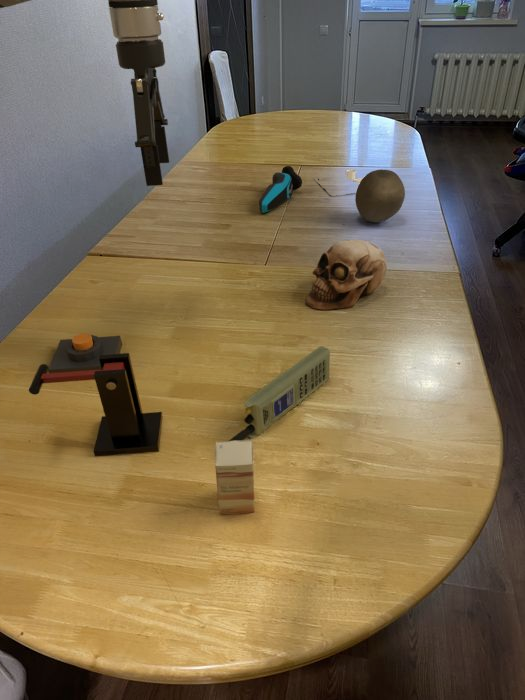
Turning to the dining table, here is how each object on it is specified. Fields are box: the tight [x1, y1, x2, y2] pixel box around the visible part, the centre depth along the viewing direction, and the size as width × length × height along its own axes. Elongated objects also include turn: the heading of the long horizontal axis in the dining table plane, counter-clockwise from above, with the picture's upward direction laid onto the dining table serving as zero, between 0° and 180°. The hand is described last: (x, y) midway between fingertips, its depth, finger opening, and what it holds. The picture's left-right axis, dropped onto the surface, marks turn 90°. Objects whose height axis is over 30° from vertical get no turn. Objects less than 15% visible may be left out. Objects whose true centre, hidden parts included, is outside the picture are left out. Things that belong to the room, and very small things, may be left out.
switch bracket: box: [92, 352, 163, 457], centre depth 80 cm, size 10×8×15 cm
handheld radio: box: [228, 346, 331, 441], centre depth 86 cm, size 7×3×25 cm
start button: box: [71, 333, 93, 351], centre depth 99 cm, size 4×4×2 cm
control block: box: [48, 334, 123, 373], centre depth 101 cm, size 12×10×4 cm
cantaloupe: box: [354, 168, 406, 223], centre depth 150 cm, size 14×14×15 cm
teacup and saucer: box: [345, 168, 362, 183], centre depth 184 cm, size 9×8×4 cm
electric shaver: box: [258, 165, 303, 214], centre depth 169 cm, size 9×26×10 cm
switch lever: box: [28, 362, 125, 396], centre depth 77 cm, size 13×6×2 cm, turn 95°
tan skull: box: [304, 239, 388, 311], centre depth 117 cm, size 16×17×13 cm
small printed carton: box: [214, 439, 255, 515], centre depth 70 cm, size 5×4×10 cm
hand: (158, 173), depth 95 cm, fingers open, 13 cm apart
